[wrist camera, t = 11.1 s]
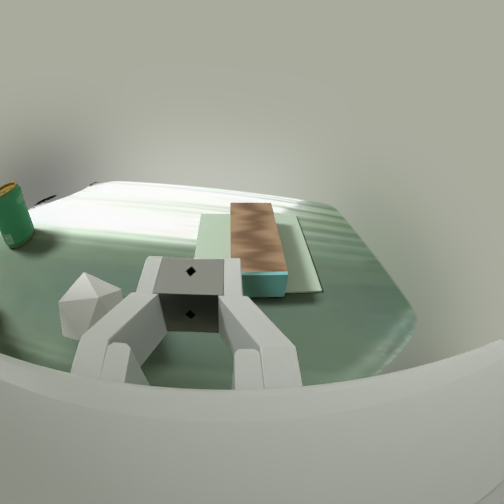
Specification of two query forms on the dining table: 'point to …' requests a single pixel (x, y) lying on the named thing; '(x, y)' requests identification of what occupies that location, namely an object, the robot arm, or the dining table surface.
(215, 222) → the green mat
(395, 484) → the robot arm
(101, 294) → the die
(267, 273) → the walnut block
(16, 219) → the beverage can
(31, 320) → the dining table surface
